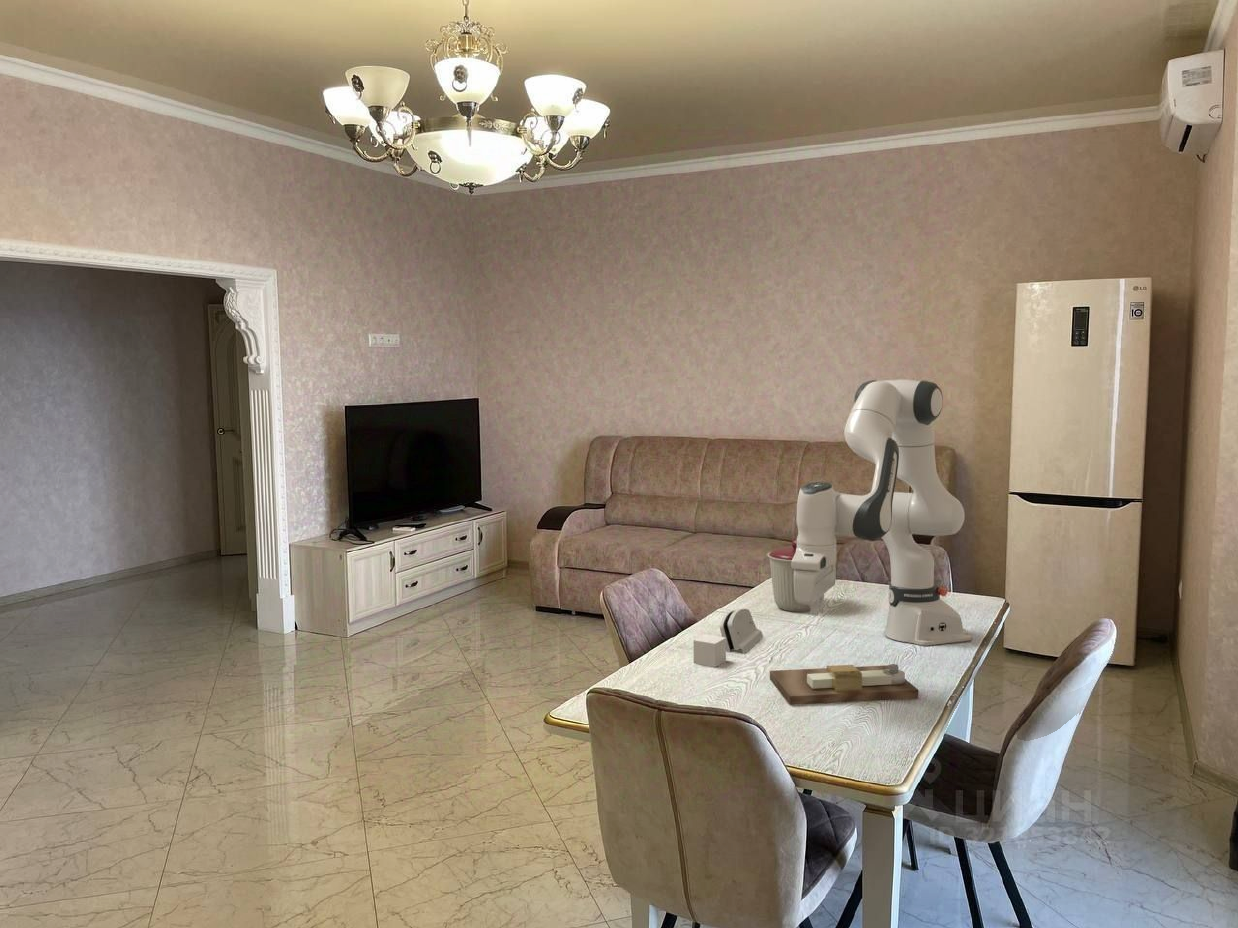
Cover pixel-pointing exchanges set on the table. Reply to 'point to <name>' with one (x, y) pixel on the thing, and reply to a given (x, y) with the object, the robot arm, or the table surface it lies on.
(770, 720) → the table surface
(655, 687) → the table surface
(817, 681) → the link
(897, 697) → the board
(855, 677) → the block
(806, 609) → the canister
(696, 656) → the light grey cube
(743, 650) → the hinge
